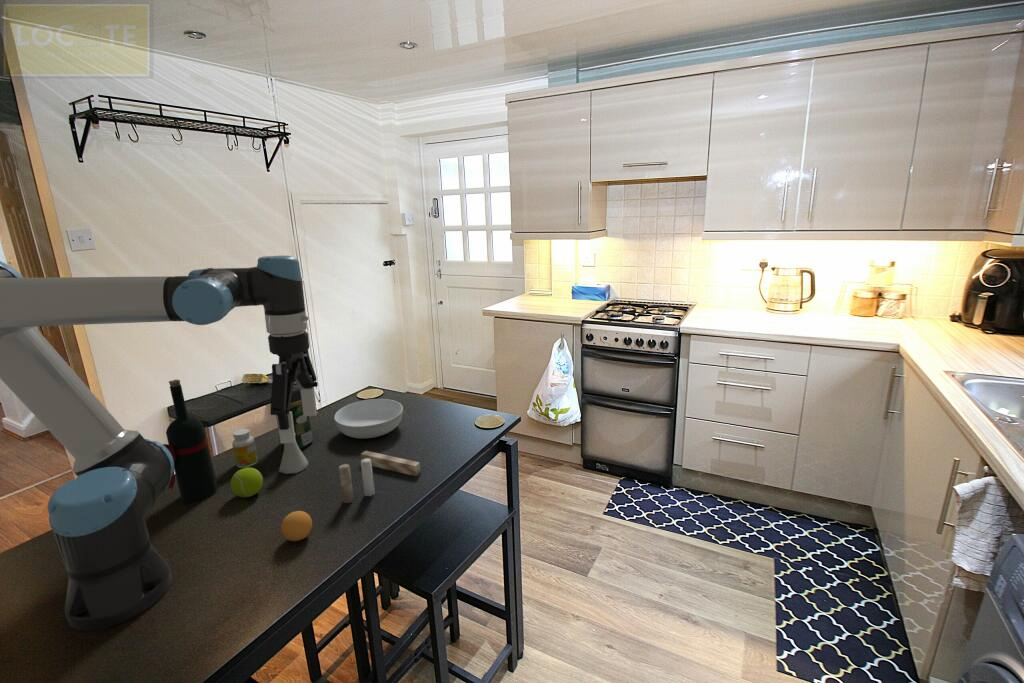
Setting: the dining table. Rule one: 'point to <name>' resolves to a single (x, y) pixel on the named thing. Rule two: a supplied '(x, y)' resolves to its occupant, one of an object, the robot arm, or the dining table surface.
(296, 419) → the coffee jar
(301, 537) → the ball
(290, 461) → the flask
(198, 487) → the wine bottle
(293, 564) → the dining table surface
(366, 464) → the pin
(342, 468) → the pin
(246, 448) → the supplement bottle
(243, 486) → the tennis ball
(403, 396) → the dining table surface
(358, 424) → the serving bowl
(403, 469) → the back wall
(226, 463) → the dining table surface
